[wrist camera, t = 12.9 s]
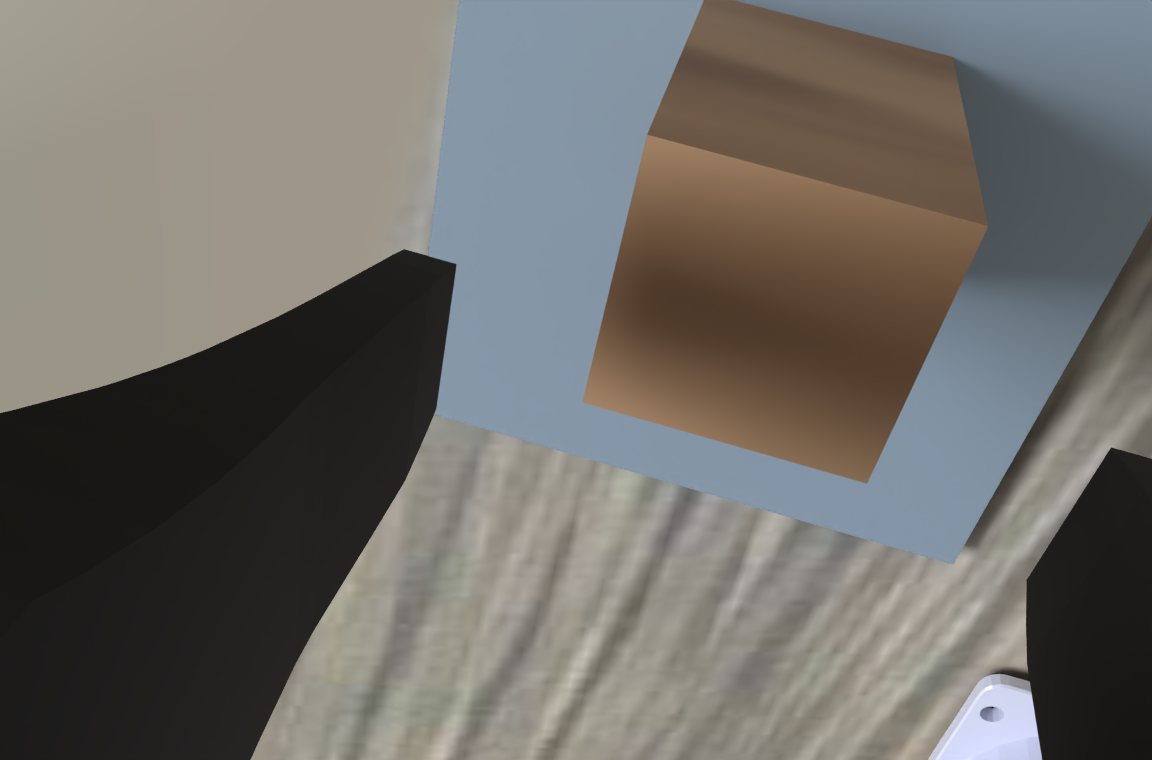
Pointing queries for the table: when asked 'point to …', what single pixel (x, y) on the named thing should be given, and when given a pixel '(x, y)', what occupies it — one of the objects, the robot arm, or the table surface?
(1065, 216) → the slate mat
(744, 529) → the table surface
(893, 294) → the walnut block
